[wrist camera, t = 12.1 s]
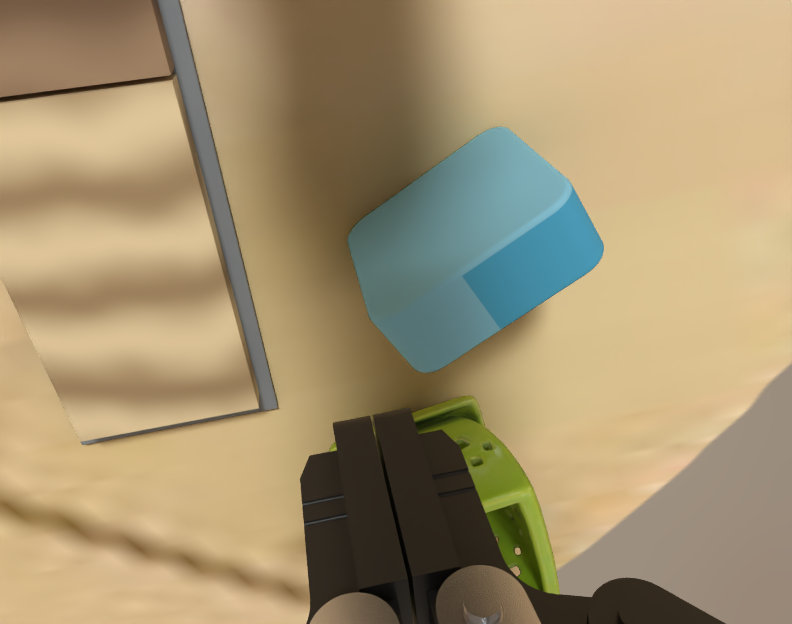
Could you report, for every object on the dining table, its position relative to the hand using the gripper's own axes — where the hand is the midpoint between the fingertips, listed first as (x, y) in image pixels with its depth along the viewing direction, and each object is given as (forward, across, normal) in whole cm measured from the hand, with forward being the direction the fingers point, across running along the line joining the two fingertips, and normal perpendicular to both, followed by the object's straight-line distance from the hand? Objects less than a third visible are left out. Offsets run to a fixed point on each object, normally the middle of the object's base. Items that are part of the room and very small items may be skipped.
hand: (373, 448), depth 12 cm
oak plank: (+28, +12, +9) cm, 32 cm away
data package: (+29, -8, +8) cm, 31 cm away
